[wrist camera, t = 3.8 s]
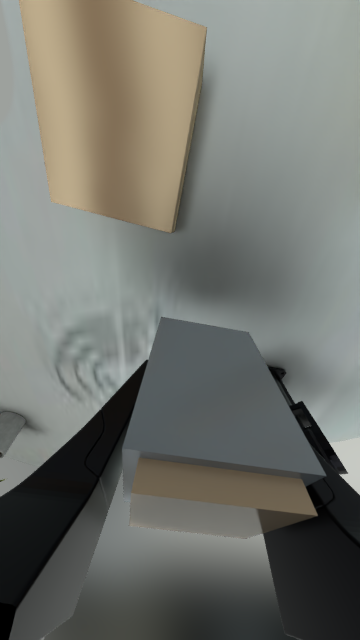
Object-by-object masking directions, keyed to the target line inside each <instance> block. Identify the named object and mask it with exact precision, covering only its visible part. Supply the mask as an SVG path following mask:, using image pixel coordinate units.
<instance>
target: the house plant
mask: <svg viewBox="0 0 360 640" xmlns="http://www.w3.org/2000/svg"><path fill="white" fill-rule="evenodd" d="M25 422H26V420H25V419H24V418H23V417H22V416H20V415H18V414H16V413H13V412H3V413H1V414H0V458H2V457H4V455H5V454H6V452H7V451H8V449H9V447H10V446H11V444H12V443H13V441H14V440H15V438H16V436H17V435H18V433H19V432H20V430H21V429H22V427H23V425H24V424H25ZM1 481H3V480H0V482H1Z"/></svg>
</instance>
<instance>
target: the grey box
mask: <svg viewBox="0 0 360 640" xmlns="http://www.w3.org/2000/svg"><path fill="white" fill-rule="evenodd" d="M122 461H123V486H124V487H123V489H124V502H131V503H130V521H129V526H135V527H144V528H153V529H163V530H171V531H180V532H189V533H197V534H207V535H215V536H224V537H233V538H242V539H247V538H250V537H253V536H256V535H259V534H262V533H265V532H269V531H272V530H275V529H278V528H281V527H284V526H288V525H291V524H294V523H297V522H300V521H303V520H307V519H310V518H313V517H316V516H318V515H317V512H316V510H315V508H314V506H313V503H312V501H311V499H310V496H309V494H308V492H307V490H306V486H308V485H310V484H312V483H314V482H316V481H318V480H320V479H322V478H324V477H326V474H325V472H324V470H323V468H322V466H321V465H320V463H319V461H318V459H317V457H316V455H315V454H314V452H313V450H312V448H311V446H310V444H309V443H308V441H307V439H306V437H305V435H304V433H303V431H302V430H301V428H300V426H299V424H298V422H297V420H296V419H295V417H294V415H293V413H292V411H291V409H290V408H289V406H288V404H287V402H286V400H285V398H284V396H283V395H282V393H281V391H280V389H279V387H278V385H277V384H276V382H275V380H274V378H273V376H272V374H271V373H270V371H269V369H268V367H267V365H266V363H265V361H264V360H263V358H262V356H261V354H260V352H259V350H258V349H257V347H256V345H255V343H254V341H253V339H252V338H251V336H250V334H249V332H244V331H238V330H233V329H227V328H221V327H216V326H210V325H204V324H199V323H193V322H188V321H182V320H176V319H171V318H165V317H161V320H160V323H159V326H158V330H157V333H156V336H155V340H154V343H153V346H152V350H151V353H150V356H149V360H148V363H147V366H146V370H145V373H144V377H143V380H142V383H141V387H140V390H139V393H138V397H137V400H136V403H135V407H134V410H133V413H132V417H131V420H130V423H129V427H128V430H127V434H126V437H125V440H124V444H123V447H122Z"/></svg>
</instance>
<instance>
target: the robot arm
mask: <svg viewBox="0 0 360 640" xmlns="http://www.w3.org/2000/svg"><path fill="white" fill-rule="evenodd" d="M147 363H148V360H146V361H145V362H144V363H143V364H142V365H141V366H140V367H139V368H138V369H137V370H136V371H135V373H134V374H133V375H132V376H131V377H130V378H129V379H128V380H127V381H126V382H125V383H124V384H123V386H122V387H121V388H120V389H119V390H118V391H117V392H116V393H115V394H114V395H113V396H112V397H111V398H110V400H109V401H108V402H107V403H106V404H105V405H104V406H103V407H102V408H101V410H99V411H98V412H97V413H96V415H95V416H94V417H93V418H92V419H91V420H90V421H89V422H88V423H87V424H86V425H85V426H84V427H83V428H82V429H81V430H80V431H79V432H78V433H77V434H76V435H74V436H73V437H72V438H71V439H70V440H69V441H68V442H67V443H66V444H65V445H64V446H62V447H61V448H60V449H59V450H58V451H57V452H56V453H55V454H54V455H52V456H51V457H50V458H49V459H48V460H47V461H46V462H45V463H44V464H43V465H41V466H40V467H39V468H38V469H37V470H36V471H35V472H34V473H32V474H31V475H30V476H29V477H28V478H27V479H25V480H24V481H23V482H21V483H20V484H19V485H17V486H16V487H15V488H13V489H12V490H10V491H9V492H7V493H6V494H4V495H3V496H1V497H0V640H44V638H45V636H46V635H47V634H48V633H50V632H51V631H53V630H54V629H55V628H57V627H58V626H59V625H61V624H62V623H64V622H65V621H66V620H68V619H69V618H70V617H72V615H73V613H74V610H75V607H76V604H77V601H78V598H79V595H80V592H81V589H82V586H83V583H84V580H85V578H86V575H87V572H88V569H89V566H90V563H91V560H92V557H93V554H94V551H95V548H96V545H97V542H98V540H99V537H100V534H101V531H102V528H103V525H104V522H105V519H106V516H107V513H108V510H109V507H110V504H111V502H112V499H113V496H114V493H115V490H116V487H117V484H118V481H119V478H120V475H121V473H122V470H123V461H122V447H123V444H124V440H125V437H126V434H127V430H128V427H129V423H130V420H131V417H132V413H133V410H134V407H135V403H136V400H137V397H138V393H139V390H140V387H141V383H142V380H143V377H144V373H145V370H146V366H147ZM268 369H269V371H270V373H271V374H272V376H273V378H274V380H275V382H276V384H277V385H278V387H279V389H280V391H281V393H282V395H283V396H284V398H285V400H286V402H287V404H288V406H289V408H290V409H291V411H292V413H293V415H294V417H295V419H296V420H297V422H298V424H299V426H300V428H301V430H302V431H303V433H304V435H305V437H306V439H307V441H308V443H309V444H310V446H311V448H312V450H313V452H314V454H315V455H316V457H317V459H318V461H319V463H320V465H321V466H322V468H323V470H324V472H325V474H326V477H324V478H322V479H320V480H318V481H316V482H314V483H312V484H310V485H308V486H306V490H307V492H308V494H309V496H310V499H311V501H312V503H313V506H314V508H315V510H316V512H317V515H318V516H316V517H313V518H310V519H307V520H303V521H300V522H297V523H294V524H291V525H288V526H284V527H281V528H278V529H275V530H272V531H269V532H265V533H263V535H264V539H265V544H266V549H267V554H268V559H269V562H270V568H271V573H272V577H273V582H274V586H275V592H276V596H277V601H278V606H279V611H280V615H281V620H282V624H283V628H284V632H285V634H286V635H289V636H292V637H295V638H297V639H300V640H360V495H359V494H358V493H357V492H356V491H355V490H354V489H353V488H352V487H351V486H350V485H349V484H348V483H347V482H346V481H345V480H344V479H343V478H342V477H341V476H340V475H339V474H348V472H347V471H346V469H345V468H344V466H343V464H342V463H341V461H340V459H339V458H338V456H337V455H336V453H335V452H334V450H333V448H332V447H331V445H330V444H329V442H328V440H327V439H326V437H325V436H324V434H323V433H322V431H321V430H320V428H319V426H318V425H317V423H316V422H315V420H314V419H313V417H312V415H311V414H310V412H309V411H308V409H307V408H306V406H305V405H304V403H303V401H300V402H298V403H297V404H295V403H294V401H293V399H292V398H291V396H290V394H289V392H288V391H287V389H286V387H285V386H284V384H283V382H282V380H281V379H282V378H283V377H284V376H285V374H286V372H285V370H284V369H279V368H273V367H268ZM308 426H309V427H308Z"/></svg>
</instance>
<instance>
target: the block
mask: <svg viewBox="0 0 360 640" xmlns="http://www.w3.org/2000/svg"><path fill="white" fill-rule="evenodd" d="M19 4H20V10H21V16H22V22H23V29H24V35H25V41H26V48H27V54H28V60H29V66H30V73H31V79H32V85H33V91H34V98H35V104H36V110H37V116H38V123H39V129H40V135H41V141H42V148H43V154H44V160H45V166H46V173H47V179H48V185H49V191H50V198H51V202H54V203H58V204H62V205H65V206H69V207H73V208H77V209H81V210H84V211H88V212H92V213H96V214H100V215H104V216H107V217H111V218H115V219H119V220H123V221H126V222H130V223H134V224H138V225H142V226H145V227H149V228H153V229H157V230H161V231H164V232H168V233H172V232H174V231H175V227H176V221H177V216H178V211H179V205H180V200H181V194H182V189H183V184H184V178H185V173H186V167H187V162H188V156H189V151H190V146H191V140H192V135H193V129H194V124H195V119H196V113H197V108H198V102H199V97H200V91H201V86H202V77H203V65H204V54H205V42H206V31H207V27H204V26H201V25H199V24H196V23H193V22H190V21H188V20H185V19H182V18H179V17H177V16H174V15H171V14H168V13H166V12H163V11H160V10H157V9H155V8H152V7H149V6H146V5H144V4H141V3H138V2H135V1H133V0H19Z"/></svg>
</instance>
